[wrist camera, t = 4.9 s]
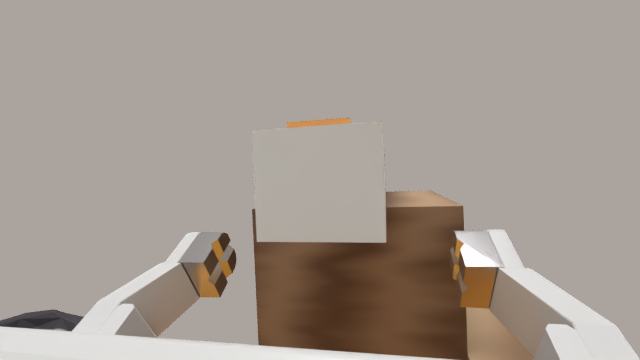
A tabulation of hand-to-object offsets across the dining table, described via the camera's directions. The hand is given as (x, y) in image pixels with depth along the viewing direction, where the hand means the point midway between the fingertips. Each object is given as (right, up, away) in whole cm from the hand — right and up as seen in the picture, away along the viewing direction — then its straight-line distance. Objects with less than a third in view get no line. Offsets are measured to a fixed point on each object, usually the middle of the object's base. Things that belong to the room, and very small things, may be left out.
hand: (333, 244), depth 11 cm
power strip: (+2, +1, +10) cm, 10 cm away
